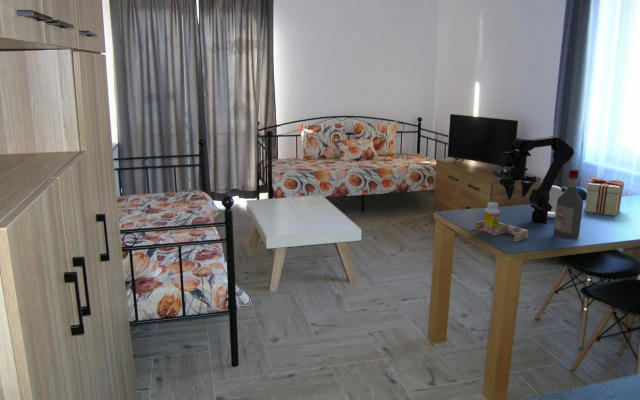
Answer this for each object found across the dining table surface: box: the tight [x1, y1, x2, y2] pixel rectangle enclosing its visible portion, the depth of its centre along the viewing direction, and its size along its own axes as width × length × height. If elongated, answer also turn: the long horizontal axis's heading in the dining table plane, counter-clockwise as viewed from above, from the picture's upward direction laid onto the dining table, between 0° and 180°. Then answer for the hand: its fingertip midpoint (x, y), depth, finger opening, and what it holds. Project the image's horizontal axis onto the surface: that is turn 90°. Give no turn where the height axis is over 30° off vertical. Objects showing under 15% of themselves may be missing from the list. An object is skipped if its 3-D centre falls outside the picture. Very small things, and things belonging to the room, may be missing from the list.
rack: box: [474, 219, 529, 242], centre depth 242 cm, size 22×9×4 cm, turn 37°
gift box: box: [584, 177, 625, 217], centre depth 280 cm, size 17×18×17 cm
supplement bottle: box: [483, 201, 501, 232], centre depth 245 cm, size 7×7×13 cm
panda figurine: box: [547, 185, 567, 218], centre depth 272 cm, size 12×11×15 cm
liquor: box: [553, 169, 584, 240], centre depth 236 cm, size 9×9×30 cm
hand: (516, 197), depth 254 cm, fingers open, 9 cm apart
